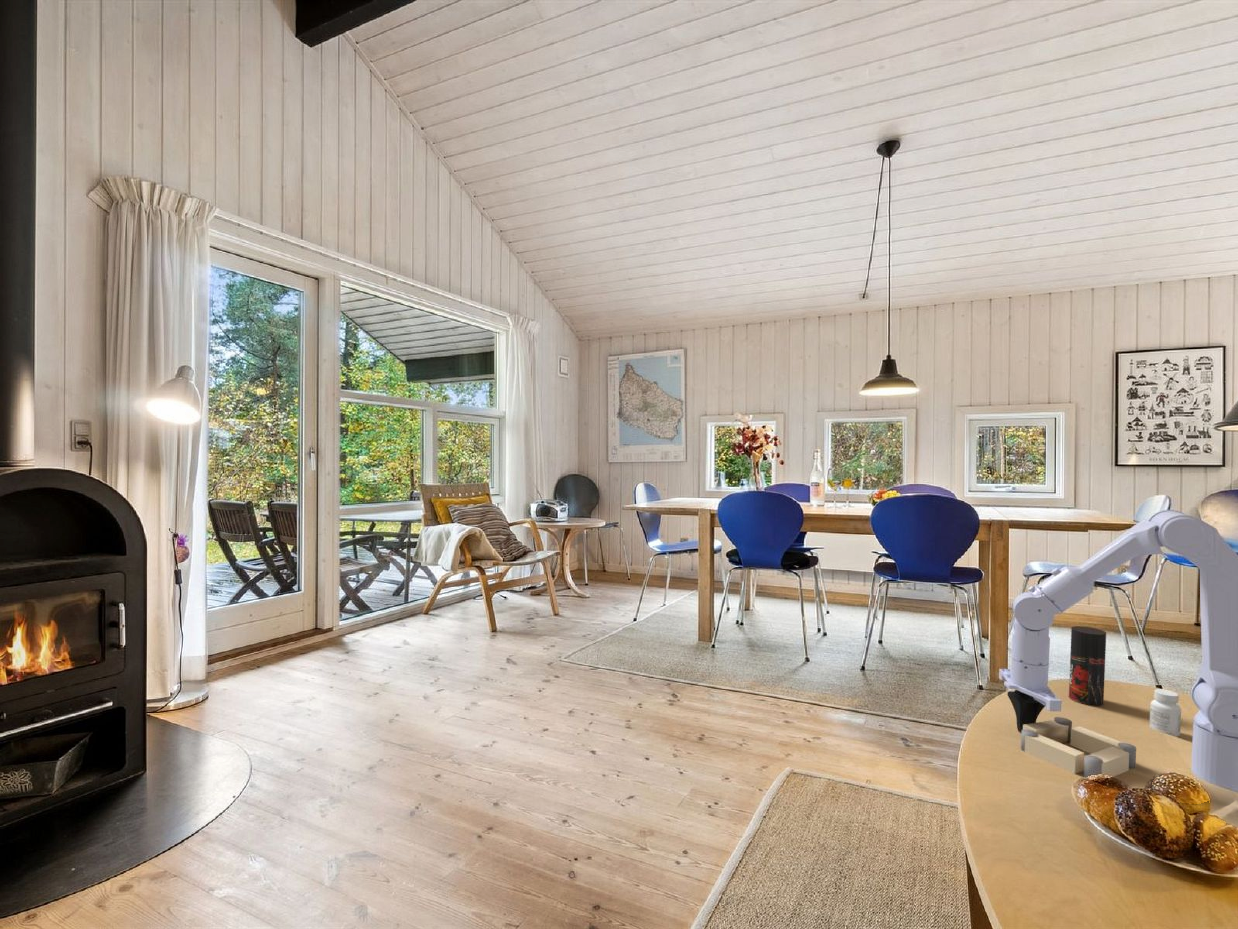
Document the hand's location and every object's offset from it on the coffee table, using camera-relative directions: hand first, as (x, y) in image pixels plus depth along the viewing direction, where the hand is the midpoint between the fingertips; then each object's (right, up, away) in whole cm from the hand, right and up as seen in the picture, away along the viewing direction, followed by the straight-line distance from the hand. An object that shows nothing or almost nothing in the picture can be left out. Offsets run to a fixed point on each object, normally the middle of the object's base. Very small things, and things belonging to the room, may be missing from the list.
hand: (1026, 733), depth 115 cm
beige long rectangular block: (+3, -1, -1) cm, 4 cm away
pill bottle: (+29, -2, +4) cm, 29 cm away
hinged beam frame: (+4, -2, -7) cm, 8 cm away
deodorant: (+25, -1, +19) cm, 31 cm away
